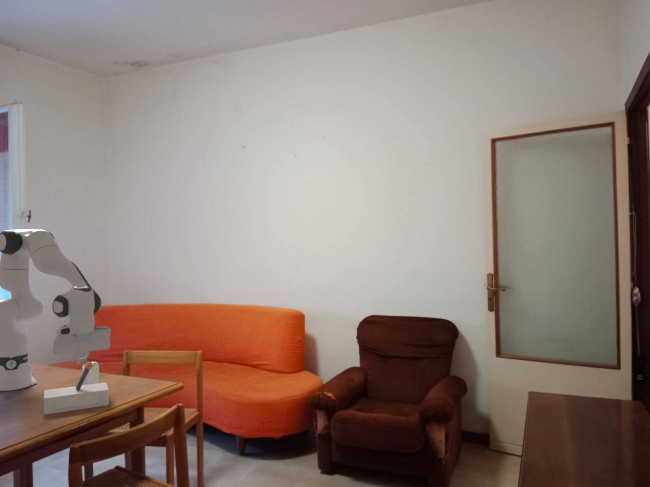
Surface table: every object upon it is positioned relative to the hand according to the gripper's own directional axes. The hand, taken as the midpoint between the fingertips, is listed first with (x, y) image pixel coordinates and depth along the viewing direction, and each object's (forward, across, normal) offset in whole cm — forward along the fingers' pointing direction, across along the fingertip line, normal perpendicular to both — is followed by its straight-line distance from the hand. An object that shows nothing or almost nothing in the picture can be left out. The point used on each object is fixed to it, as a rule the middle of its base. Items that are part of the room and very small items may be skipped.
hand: (82, 362), depth 193 cm
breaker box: (+16, +2, 0) cm, 16 cm away
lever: (+10, +2, 0) cm, 10 cm away
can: (+17, -4, -19) cm, 25 cm away
